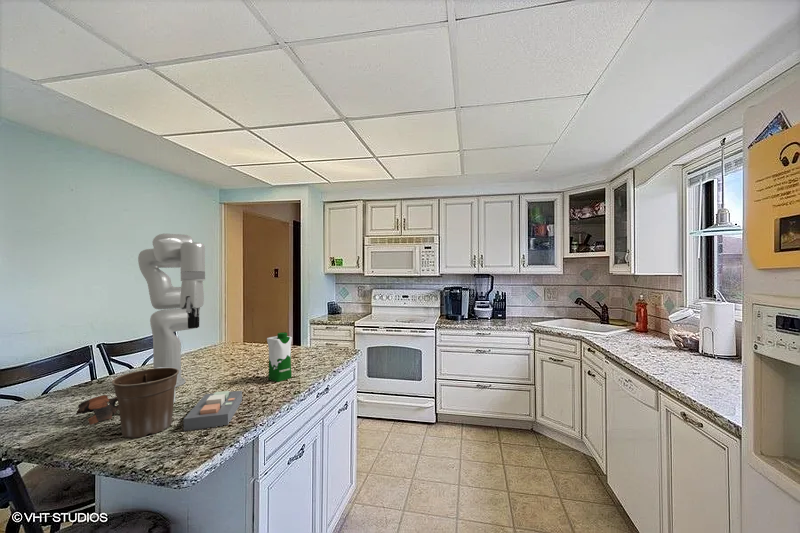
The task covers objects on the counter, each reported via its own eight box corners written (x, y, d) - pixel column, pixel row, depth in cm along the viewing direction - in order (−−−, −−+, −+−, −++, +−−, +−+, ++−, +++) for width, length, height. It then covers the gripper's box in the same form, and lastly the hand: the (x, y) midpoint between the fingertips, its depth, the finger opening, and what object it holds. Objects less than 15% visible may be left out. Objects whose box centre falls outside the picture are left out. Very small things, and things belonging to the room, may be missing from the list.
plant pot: (159, 440, 95) (158, 382, 95) (97, 444, 93) (96, 385, 94) (190, 415, 111) (189, 366, 111) (137, 418, 110) (136, 368, 110)
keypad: (205, 404, 121) (205, 393, 121) (242, 400, 124) (242, 390, 124) (183, 430, 100) (183, 418, 100) (228, 425, 103) (227, 413, 103)
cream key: (210, 404, 114) (210, 395, 114) (224, 403, 115) (224, 394, 115) (206, 409, 109) (206, 400, 109) (221, 408, 110) (221, 398, 111)
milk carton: (277, 383, 142) (276, 335, 142) (264, 379, 147) (264, 333, 148) (294, 377, 149) (294, 332, 149) (282, 374, 154) (281, 330, 155)
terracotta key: (204, 414, 108) (204, 405, 108) (220, 412, 109) (220, 403, 109) (200, 420, 104) (200, 410, 104) (216, 418, 105) (216, 408, 105)
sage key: (215, 400, 119) (215, 392, 120) (229, 399, 121) (229, 390, 121) (211, 405, 115) (211, 396, 115) (226, 403, 116) (225, 395, 116)
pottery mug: (76, 430, 103) (70, 405, 105) (85, 433, 110) (79, 409, 112) (125, 410, 110) (118, 386, 112) (131, 414, 117) (124, 391, 119)
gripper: (188, 276, 128) (189, 325, 128) (172, 277, 114) (173, 332, 113) (210, 276, 130) (211, 324, 130) (197, 276, 115) (198, 330, 115)
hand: (193, 327), depth 122 cm, fingers closed
